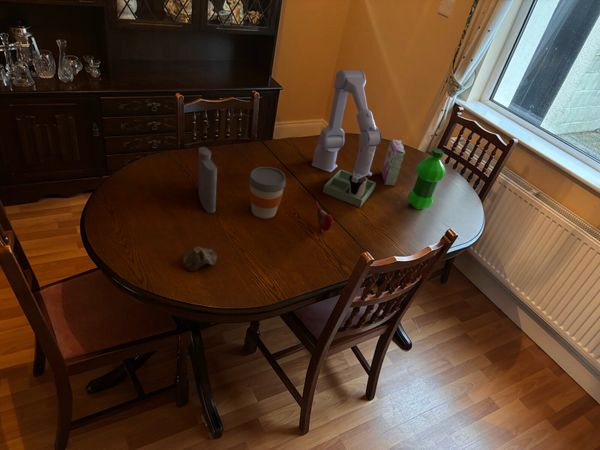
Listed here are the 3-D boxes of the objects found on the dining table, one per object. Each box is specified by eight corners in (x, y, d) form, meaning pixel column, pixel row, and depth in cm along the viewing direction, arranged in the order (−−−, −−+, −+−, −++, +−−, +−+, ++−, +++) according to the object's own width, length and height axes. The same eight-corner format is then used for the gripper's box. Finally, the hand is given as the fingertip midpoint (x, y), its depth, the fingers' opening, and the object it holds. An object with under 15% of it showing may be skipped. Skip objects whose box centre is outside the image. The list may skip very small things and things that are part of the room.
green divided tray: (322, 192, 178) (324, 185, 175) (338, 176, 190) (340, 169, 188) (360, 207, 173) (362, 200, 171) (373, 189, 185) (376, 182, 183)
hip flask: (216, 212, 157) (218, 163, 145) (204, 214, 155) (205, 164, 143) (206, 188, 168) (207, 140, 156) (195, 189, 166) (195, 140, 154)
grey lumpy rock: (214, 246, 139) (182, 252, 137) (214, 239, 132) (179, 246, 130) (219, 269, 136) (186, 276, 134) (218, 263, 130) (184, 271, 128)
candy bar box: (380, 171, 198) (390, 138, 189) (391, 173, 199) (402, 140, 189) (383, 184, 189) (394, 150, 180) (395, 186, 190) (406, 152, 180)
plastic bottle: (402, 206, 178) (421, 151, 163) (409, 195, 186) (428, 141, 171) (426, 216, 175) (448, 160, 160) (432, 204, 183) (454, 150, 168)
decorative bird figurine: (323, 244, 151) (328, 220, 145) (309, 213, 165) (313, 190, 159) (331, 243, 152) (337, 220, 146) (316, 213, 166) (321, 190, 160)
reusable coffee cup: (276, 224, 156) (281, 189, 147) (241, 216, 157) (245, 180, 148) (284, 205, 166) (289, 171, 157) (252, 198, 167) (255, 163, 158)
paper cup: (346, 195, 175) (350, 178, 170) (351, 189, 179) (355, 172, 174) (359, 201, 173) (364, 183, 168) (364, 194, 178) (369, 177, 173)
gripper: (367, 171, 160) (359, 202, 168) (380, 156, 171) (372, 186, 179) (349, 164, 162) (342, 195, 170) (363, 150, 173) (356, 180, 181)
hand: (356, 190), depth 175 cm, fingers closed on paper cup, 6 cm apart
